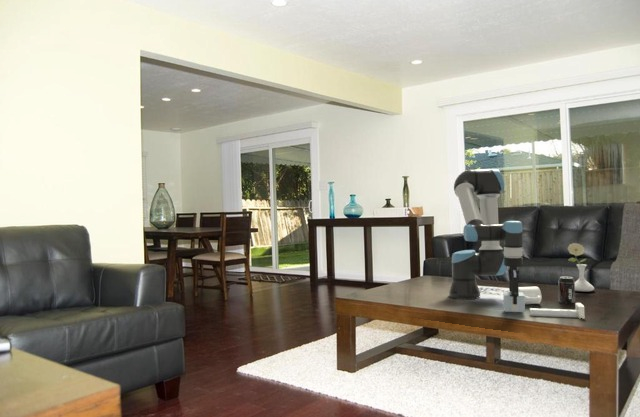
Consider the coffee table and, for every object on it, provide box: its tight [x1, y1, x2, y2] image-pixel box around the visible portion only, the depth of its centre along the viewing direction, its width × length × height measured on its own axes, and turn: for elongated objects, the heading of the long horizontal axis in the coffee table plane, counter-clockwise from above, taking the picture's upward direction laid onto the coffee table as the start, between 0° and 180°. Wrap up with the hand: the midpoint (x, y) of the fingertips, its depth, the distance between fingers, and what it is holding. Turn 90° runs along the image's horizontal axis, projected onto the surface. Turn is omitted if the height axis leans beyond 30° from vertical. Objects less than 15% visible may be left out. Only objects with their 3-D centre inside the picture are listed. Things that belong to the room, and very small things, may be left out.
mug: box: [518, 286, 542, 305], centre depth 230 cm, size 12×10×8 cm
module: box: [502, 291, 526, 313], centre depth 216 cm, size 8×7×8 cm
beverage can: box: [557, 275, 576, 305], centre depth 232 cm, size 7×7×12 cm
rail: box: [529, 302, 586, 320], centre depth 208 cm, size 20×7×5 cm, turn 73°
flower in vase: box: [567, 242, 595, 293], centre depth 259 cm, size 13×11×25 cm
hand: (514, 309), depth 216 cm, fingers closed on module, 7 cm apart
